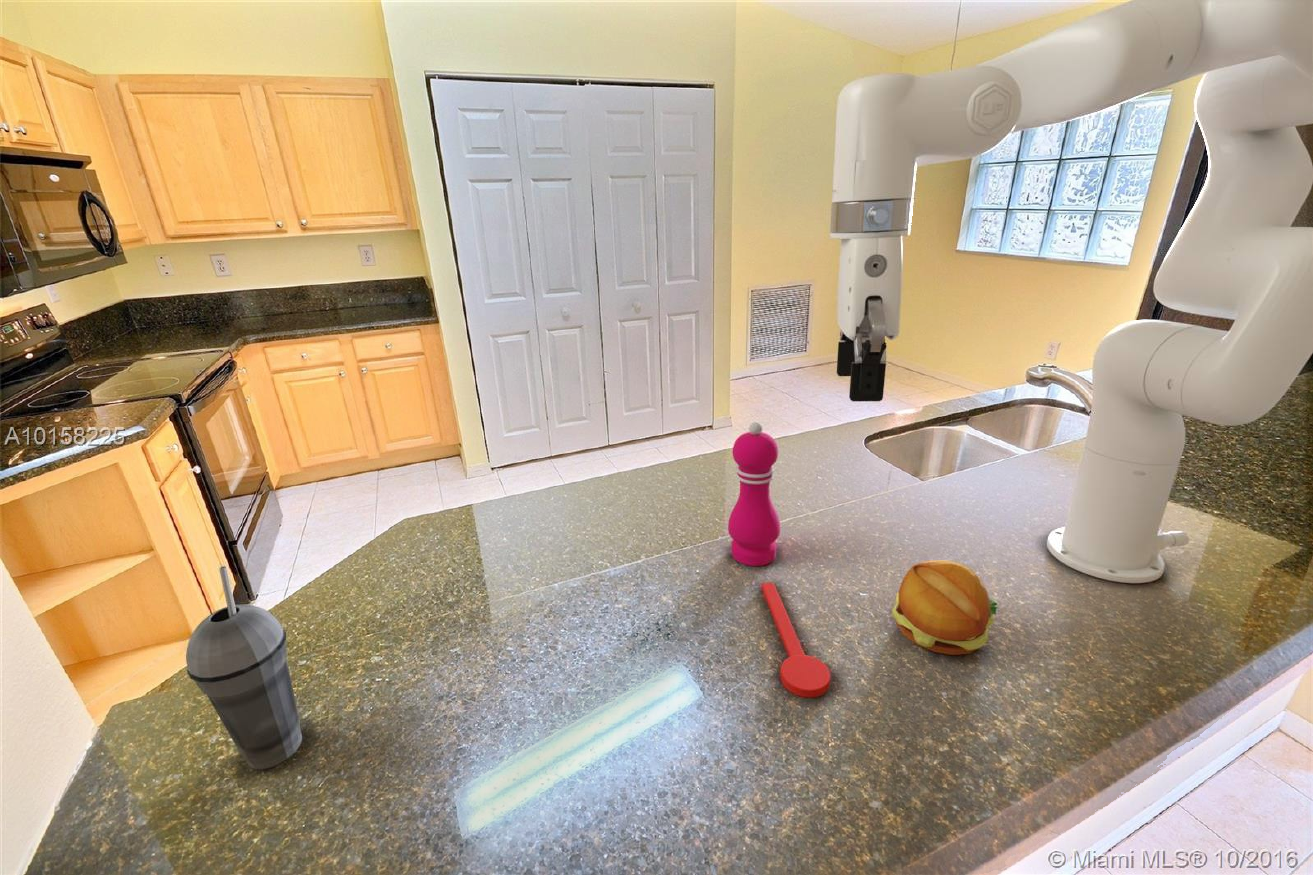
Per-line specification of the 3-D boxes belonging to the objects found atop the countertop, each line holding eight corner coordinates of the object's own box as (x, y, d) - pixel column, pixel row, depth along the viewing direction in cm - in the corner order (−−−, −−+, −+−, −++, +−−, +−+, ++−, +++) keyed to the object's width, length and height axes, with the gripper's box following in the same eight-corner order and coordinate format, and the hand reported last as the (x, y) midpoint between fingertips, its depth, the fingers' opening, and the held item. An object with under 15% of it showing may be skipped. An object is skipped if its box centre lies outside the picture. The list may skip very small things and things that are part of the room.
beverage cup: (256, 721, 58) (191, 548, 51) (331, 713, 58) (276, 542, 51) (210, 787, 51) (127, 599, 44) (295, 778, 51) (226, 591, 44)
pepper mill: (779, 570, 78) (784, 432, 71) (725, 566, 80) (725, 430, 73) (779, 542, 85) (784, 413, 78) (730, 539, 86) (730, 412, 79)
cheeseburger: (989, 612, 68) (1005, 552, 62) (985, 690, 60) (1003, 630, 55) (897, 590, 72) (905, 532, 67) (883, 660, 65) (890, 601, 59)
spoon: (786, 586, 75) (786, 579, 75) (837, 695, 58) (837, 688, 57) (748, 589, 75) (748, 582, 74) (787, 700, 57) (788, 692, 57)
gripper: (935, 220, 49) (914, 412, 55) (890, 218, 65) (877, 367, 71) (843, 225, 50) (832, 412, 56) (821, 222, 66) (814, 368, 72)
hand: (857, 387), depth 63 cm, fingers open, 9 cm apart
